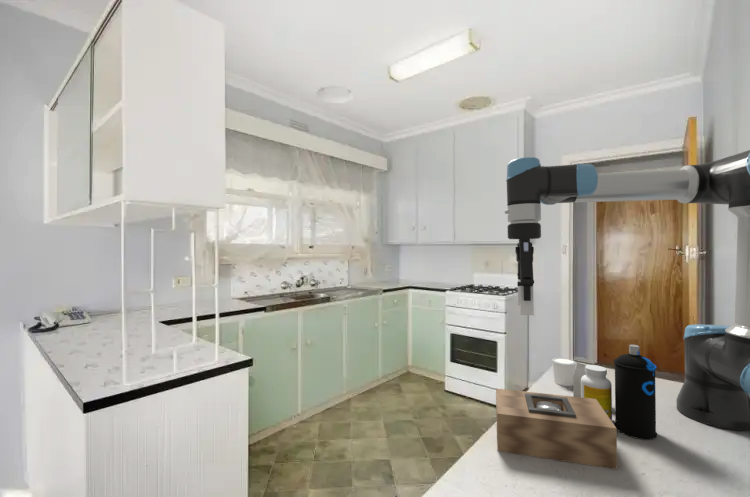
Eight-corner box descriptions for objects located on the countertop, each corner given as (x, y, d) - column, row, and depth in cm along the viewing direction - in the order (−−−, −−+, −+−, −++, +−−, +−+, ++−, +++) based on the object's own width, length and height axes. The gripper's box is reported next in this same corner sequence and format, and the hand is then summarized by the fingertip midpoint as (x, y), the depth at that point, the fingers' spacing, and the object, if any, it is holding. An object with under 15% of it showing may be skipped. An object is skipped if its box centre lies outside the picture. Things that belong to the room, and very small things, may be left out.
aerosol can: (611, 431, 83) (610, 346, 83) (617, 418, 90) (616, 339, 89) (655, 444, 78) (654, 353, 78) (659, 429, 84) (658, 345, 84)
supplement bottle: (617, 426, 86) (616, 373, 86) (586, 424, 87) (586, 371, 87) (605, 413, 92) (604, 364, 92) (577, 411, 94) (576, 362, 94)
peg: (559, 437, 81) (559, 402, 81) (563, 449, 76) (563, 412, 76) (535, 434, 82) (535, 400, 82) (538, 446, 78) (537, 409, 78)
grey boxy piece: (598, 407, 96) (597, 370, 96) (573, 398, 102) (573, 363, 102) (605, 404, 98) (605, 367, 98) (580, 395, 104) (580, 361, 104)
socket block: (596, 433, 83) (595, 396, 83) (616, 469, 69) (616, 425, 69) (496, 420, 89) (496, 386, 89) (497, 450, 76) (497, 410, 76)
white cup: (581, 386, 110) (580, 364, 110) (559, 387, 110) (558, 364, 110) (568, 378, 117) (568, 357, 117) (547, 378, 117) (547, 357, 117)
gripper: (506, 226, 100) (508, 301, 100) (508, 220, 76) (509, 318, 76) (536, 225, 97) (537, 302, 97) (546, 218, 74) (548, 320, 74)
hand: (525, 309), depth 87 cm, fingers open, 13 cm apart
